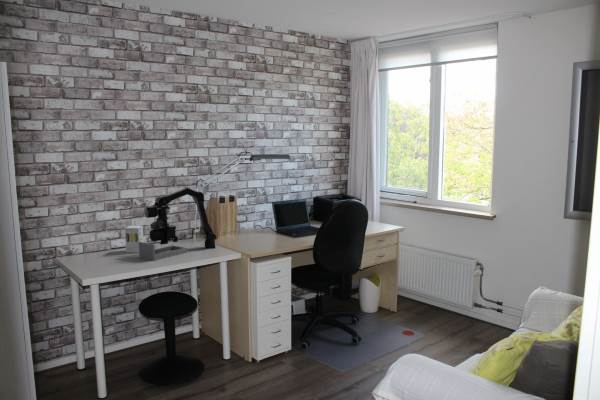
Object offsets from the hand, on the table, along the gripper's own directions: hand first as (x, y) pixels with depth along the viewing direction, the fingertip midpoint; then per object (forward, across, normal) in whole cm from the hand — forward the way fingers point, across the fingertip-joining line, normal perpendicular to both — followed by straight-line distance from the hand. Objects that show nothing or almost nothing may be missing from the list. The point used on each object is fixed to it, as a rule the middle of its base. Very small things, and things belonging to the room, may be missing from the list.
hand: (163, 239), depth 319 cm
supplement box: (+10, -26, -4) cm, 28 cm away
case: (+10, 0, 0) cm, 10 cm away
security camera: (+3, 0, 0) cm, 3 cm away
